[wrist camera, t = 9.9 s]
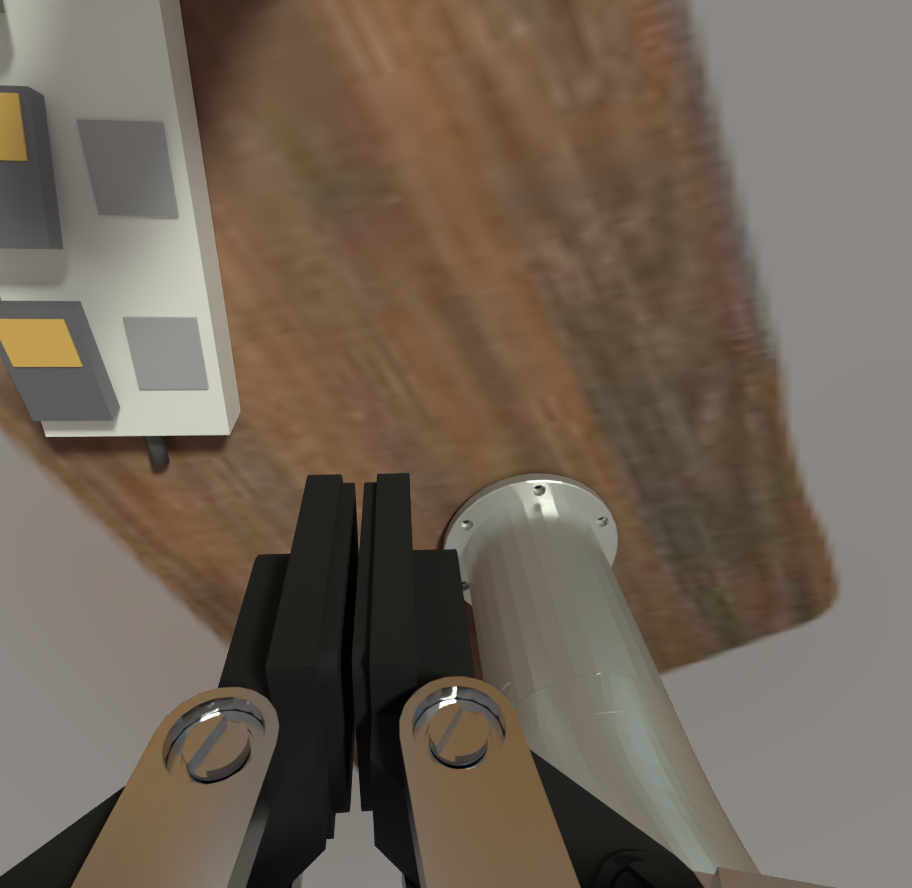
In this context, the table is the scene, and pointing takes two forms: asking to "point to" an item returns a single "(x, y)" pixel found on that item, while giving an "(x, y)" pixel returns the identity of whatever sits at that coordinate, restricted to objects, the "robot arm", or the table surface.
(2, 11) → the near rocker
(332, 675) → the robot arm
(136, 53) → the power strip
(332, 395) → the table surface
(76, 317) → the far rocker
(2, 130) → the middle rocker
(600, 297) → the table surface
